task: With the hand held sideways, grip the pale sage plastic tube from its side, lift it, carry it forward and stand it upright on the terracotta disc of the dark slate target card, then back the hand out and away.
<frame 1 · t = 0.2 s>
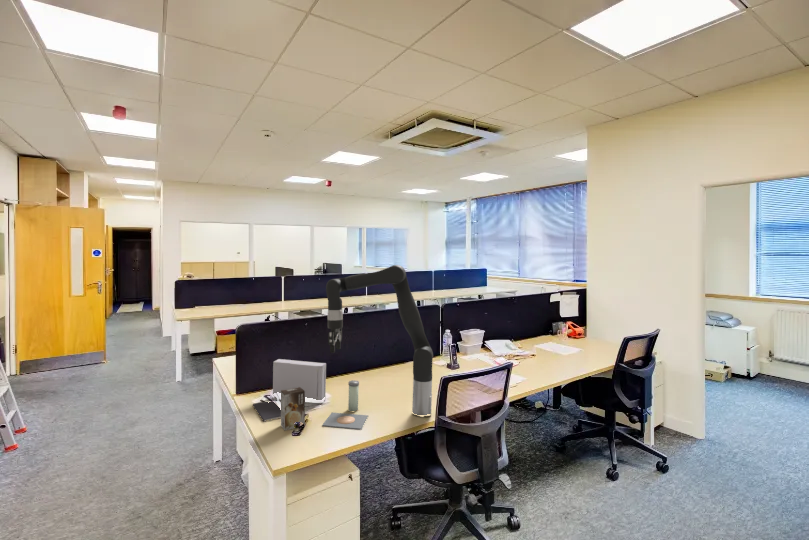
hand: (335, 350, 192), 29 cm above the table, tool pointing down, fingers open, 8 cm apart
notebook: (271, 412, 186), on the table
coffee box: (292, 426, 171), on the table
target card: (345, 421, 177), on the table
game console: (299, 400, 201), on the table
tube: (353, 409, 190), on the table
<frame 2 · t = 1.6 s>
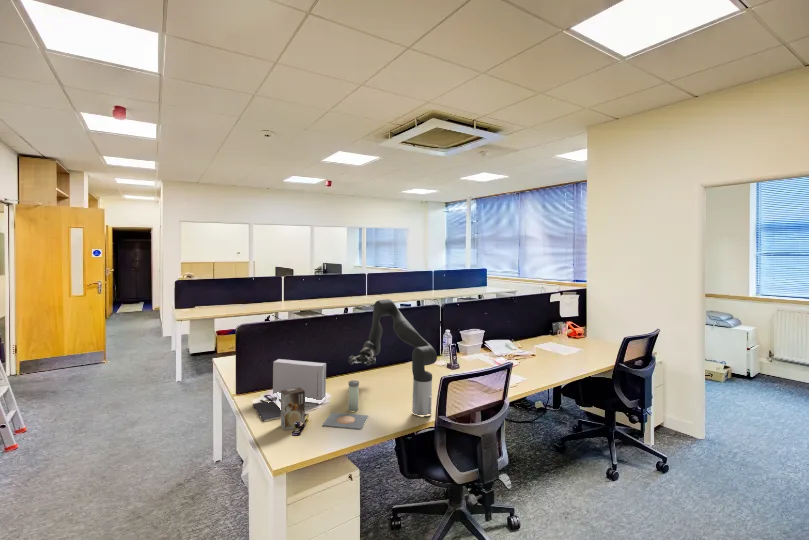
hand: (359, 363, 200), 20 cm above the table, tool horizontal, fingers open, 8 cm apart
nothing on the table moved.
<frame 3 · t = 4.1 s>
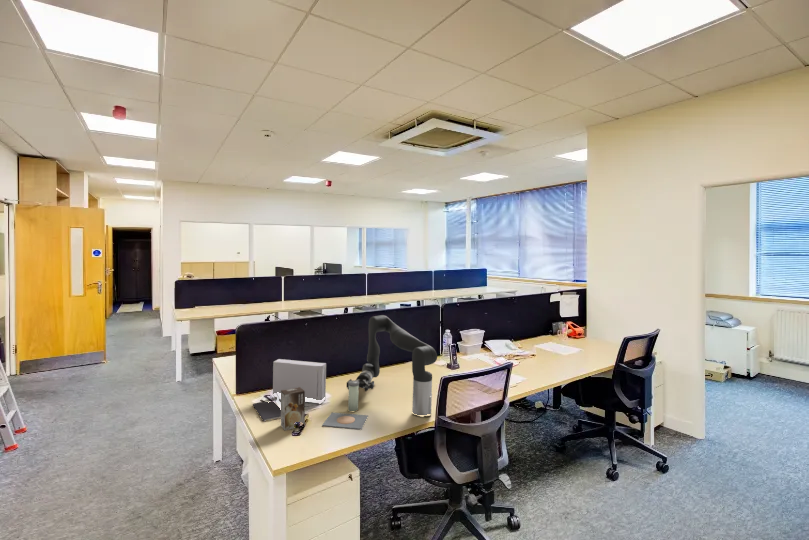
hand: (357, 389, 197), 8 cm above the table, tool horizontal, fingers open, 8 cm apart
nothing on the table moved.
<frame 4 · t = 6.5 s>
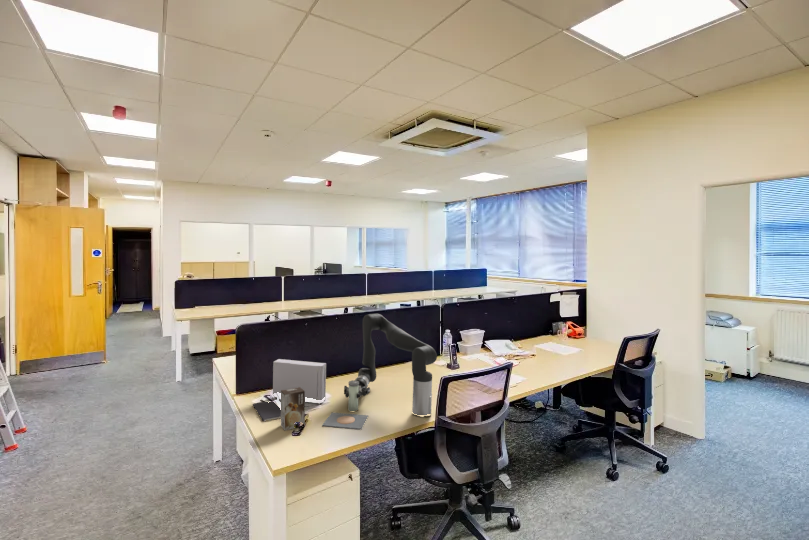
hand: (352, 396, 187), 8 cm above the table, tool horizontal, fingers closed on tube, 4 cm apart
tube: (353, 409, 190), on the table, touching gripper
everything else where it was.
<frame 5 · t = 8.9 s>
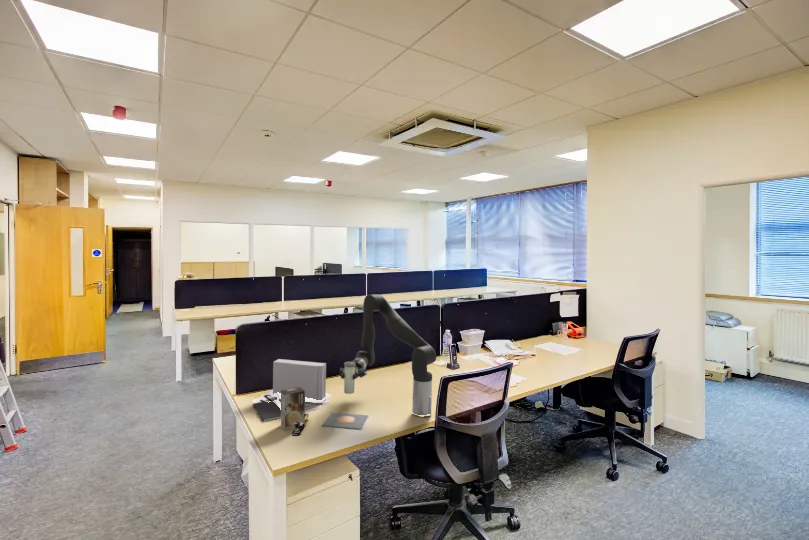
hand: (348, 377, 178), 20 cm above the table, tool horizontal, fingers closed on tube, 4 cm apart
tube: (349, 392, 181), point 12 cm above the table, touching gripper
everything else where it was.
when the fingers open (10 cm above the table, at t = 11.7 s): tube drops 1 cm, resting on target card.
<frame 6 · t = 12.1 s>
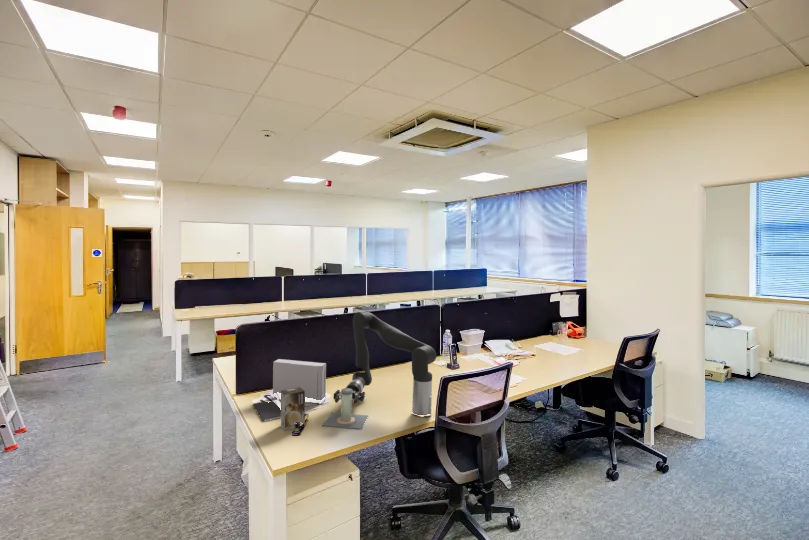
hand: (345, 401, 175), 10 cm above the table, tool horizontal, fingers open, 8 cm apart
tube: (345, 419, 177), point 1 cm above the table, touching target card
everything else where it was.
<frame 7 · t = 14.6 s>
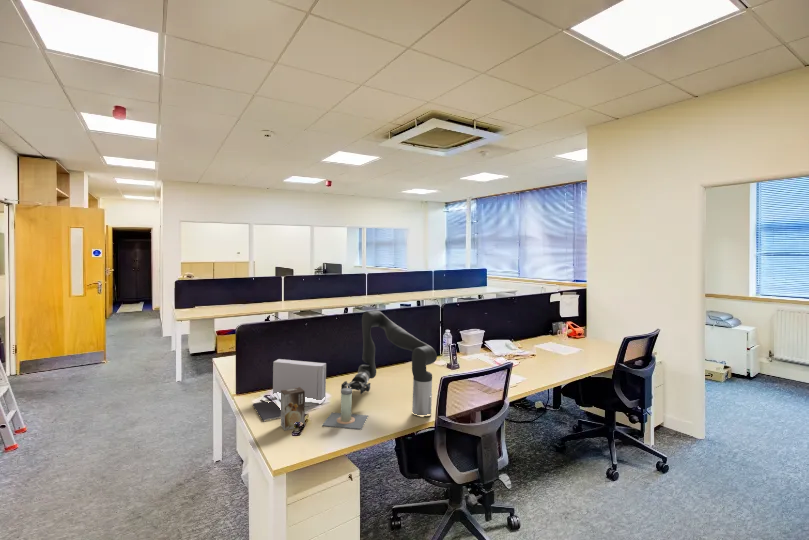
hand: (352, 391, 187), 10 cm above the table, tool horizontal, fingers open, 8 cm apart
nothing on the table moved.
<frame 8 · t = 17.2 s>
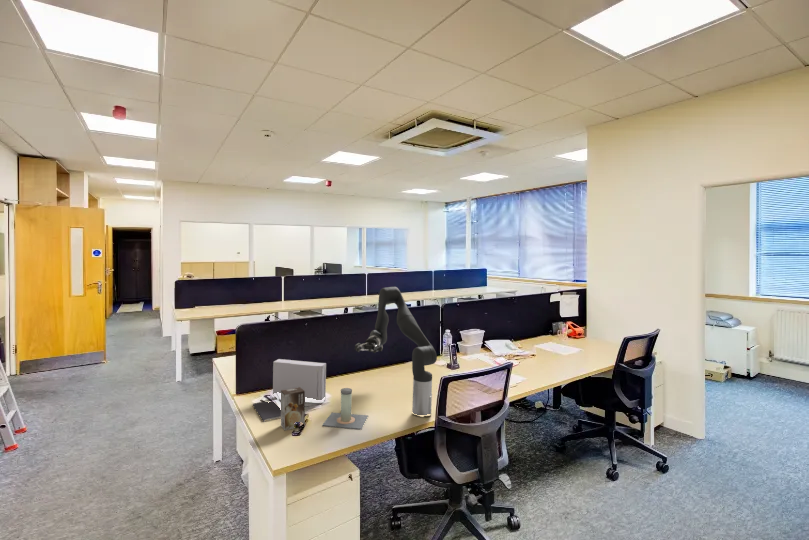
hand: (366, 350, 196), 28 cm above the table, tool horizontal, fingers open, 8 cm apart
nothing on the table moved.
at the end: tube inside the target area (0.1 cm from its centre), point 0.6 cm above the table; tube tilted 1°; the gripper is holding nothing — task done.
